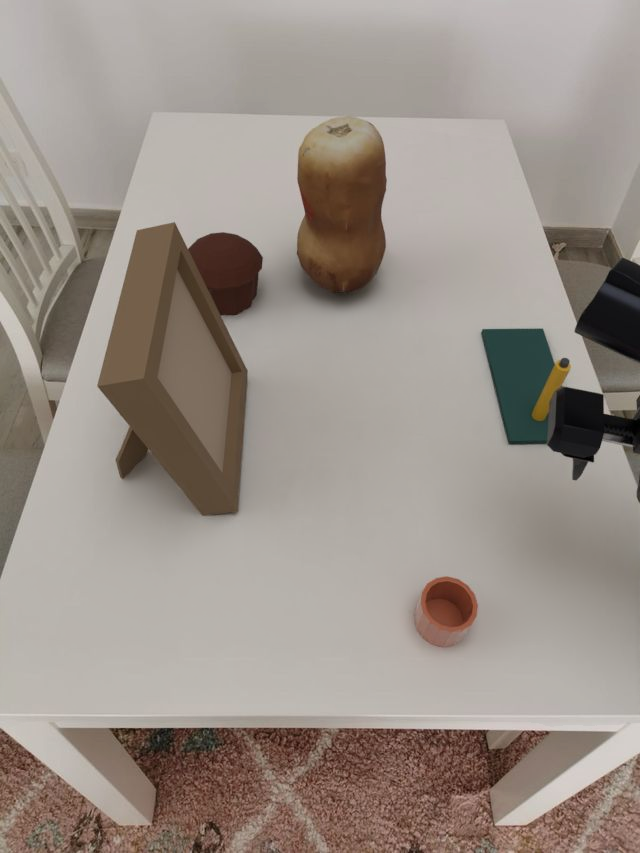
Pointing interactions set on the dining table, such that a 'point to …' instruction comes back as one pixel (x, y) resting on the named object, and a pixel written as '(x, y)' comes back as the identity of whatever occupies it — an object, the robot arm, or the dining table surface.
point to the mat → (519, 379)
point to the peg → (551, 388)
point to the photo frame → (176, 374)
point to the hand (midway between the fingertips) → (622, 486)
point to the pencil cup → (445, 611)
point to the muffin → (228, 270)
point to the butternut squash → (342, 203)
